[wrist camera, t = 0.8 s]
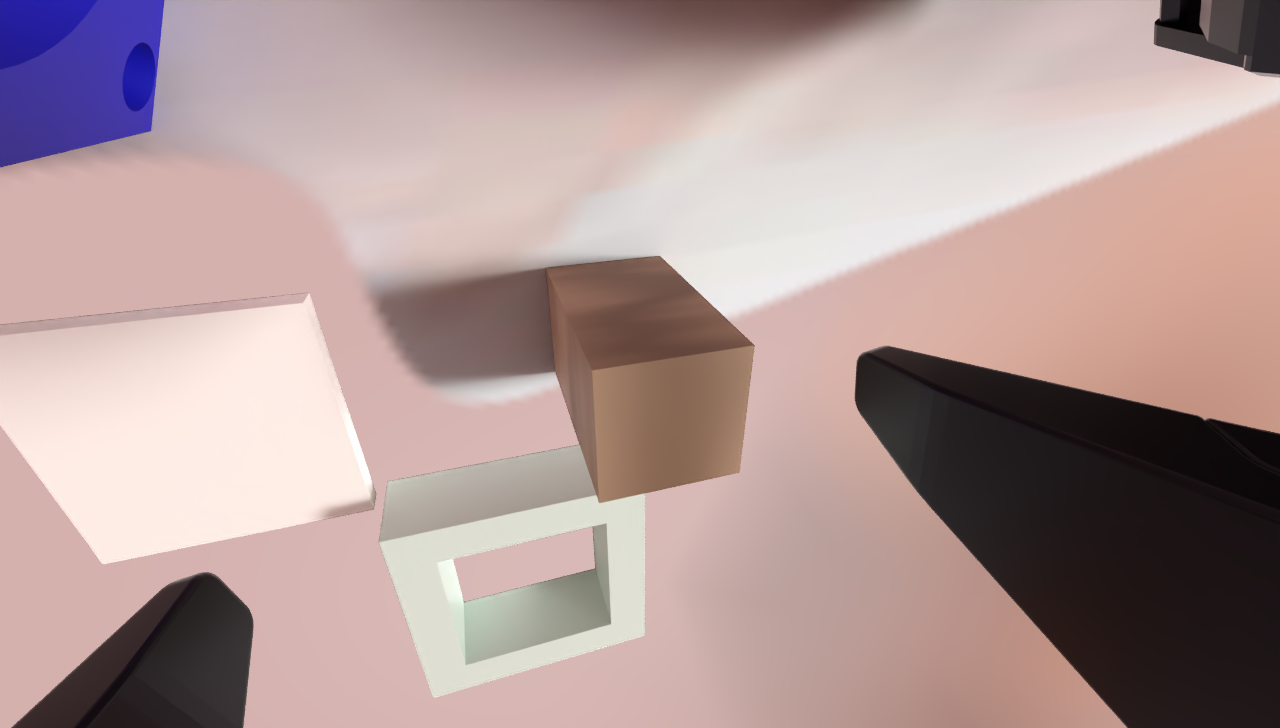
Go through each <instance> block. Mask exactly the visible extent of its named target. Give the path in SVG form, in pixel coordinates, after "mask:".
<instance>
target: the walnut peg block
mask: <svg viewBox="0 0 1280 728" xmlns="http://www.w3.org/2000/svg"><path fill="white" fill-rule="evenodd" d="M546 278H547V289H548V299H549V310H550V320H551V331H552V342H553V352H554V363H555V372H556V375H557V378H558V381H559V384H560V387H561V390H562V393H563V396H564V399H565V402H566V405H567V408H568V411H569V414H570V417H571V420H572V423H573V426H574V429H575V432H576V435H577V438H578V441H579V444H580V447H581V450H582V453H583V456H584V459H585V462H586V465H587V468H588V471H589V474H590V477H591V480H592V483H593V486H594V489H595V492H596V495H597V498H598V501H599V503H603V502H608V501H612V500H617V499H621V498H626V497H630V496H635V495H640V494H644V493H648V492H653V491H658V490H662V489H666V488H671V487H676V486H680V485H684V484H690V483H694V482H698V481H703V480H707V479H712V478H717V477H721V476H726V475H730V474H735V473H739V471H740V463H741V455H742V446H743V437H744V429H745V421H746V412H747V404H748V396H749V387H750V379H751V370H752V362H753V354H754V344H752V343H751V342H750V341H749V340H748V339H747V338H746V337H745V336H744V335H743V334H742V333H741V332H740V331H739V330H738V329H737V328H736V327H734V326H733V325H732V324H731V323H730V322H729V321H728V320H727V319H726V318H725V317H724V316H723V315H722V314H721V313H720V312H719V311H718V310H717V309H715V308H714V307H713V306H712V305H711V304H710V303H709V302H708V301H707V300H706V299H705V298H704V297H703V296H702V295H701V294H700V293H699V292H697V291H696V290H695V289H694V288H693V287H692V286H691V285H690V284H689V283H688V282H687V281H686V280H685V279H684V278H683V277H682V276H681V275H679V274H678V273H677V272H676V271H675V270H674V269H673V268H672V267H671V266H670V265H669V264H668V263H667V262H666V261H665V260H664V259H663V258H661V257H660V256H656V257H646V258H636V259H626V260H616V261H607V262H597V263H587V264H577V265H568V266H558V267H548V268H546Z"/></svg>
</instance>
